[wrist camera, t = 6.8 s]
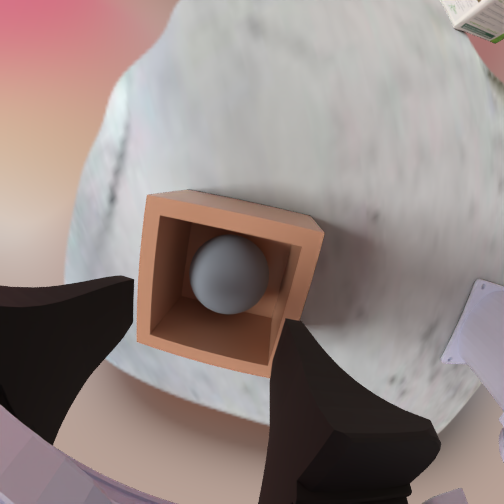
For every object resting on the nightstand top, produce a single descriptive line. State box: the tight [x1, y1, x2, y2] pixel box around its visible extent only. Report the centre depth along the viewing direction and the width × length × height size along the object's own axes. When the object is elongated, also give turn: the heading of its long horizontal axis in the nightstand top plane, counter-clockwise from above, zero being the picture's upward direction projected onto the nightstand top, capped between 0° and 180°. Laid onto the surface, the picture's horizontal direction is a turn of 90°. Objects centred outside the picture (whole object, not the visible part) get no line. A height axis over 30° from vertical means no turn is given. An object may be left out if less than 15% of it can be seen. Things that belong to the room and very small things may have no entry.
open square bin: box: [137, 190, 325, 378], centre depth 16 cm, size 8×8×6 cm
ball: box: [189, 234, 269, 314], centre depth 16 cm, size 4×4×4 cm
